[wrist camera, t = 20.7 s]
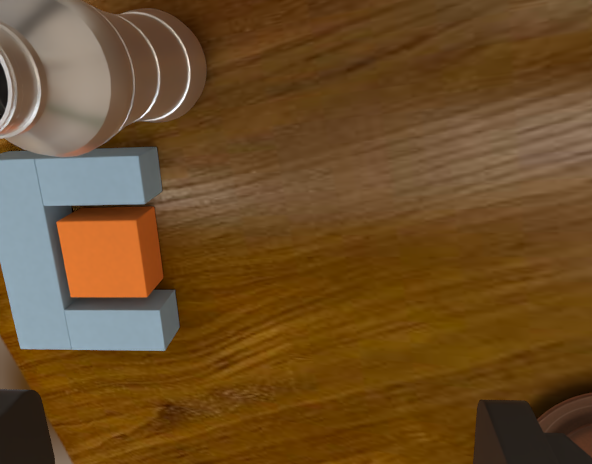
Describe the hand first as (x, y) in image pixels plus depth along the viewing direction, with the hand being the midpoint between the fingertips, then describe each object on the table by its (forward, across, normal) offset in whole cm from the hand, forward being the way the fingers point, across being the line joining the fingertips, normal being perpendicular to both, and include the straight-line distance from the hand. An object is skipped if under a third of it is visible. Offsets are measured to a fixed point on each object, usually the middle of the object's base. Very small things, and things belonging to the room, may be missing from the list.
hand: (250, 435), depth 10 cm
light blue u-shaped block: (+28, +17, +6) cm, 33 cm away
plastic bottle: (+28, +10, -6) cm, 31 cm away
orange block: (+28, +15, +6) cm, 32 cm away
